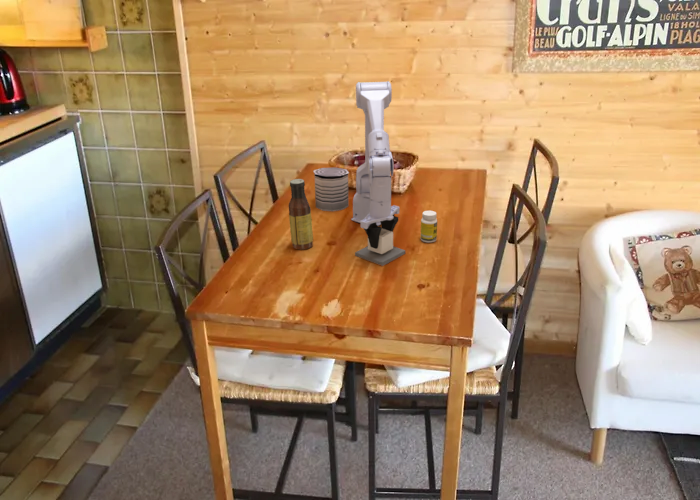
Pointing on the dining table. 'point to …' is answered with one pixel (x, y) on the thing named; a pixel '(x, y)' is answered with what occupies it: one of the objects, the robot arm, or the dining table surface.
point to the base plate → (380, 255)
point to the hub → (383, 242)
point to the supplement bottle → (429, 226)
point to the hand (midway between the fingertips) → (380, 244)
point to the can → (331, 189)
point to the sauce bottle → (300, 216)
